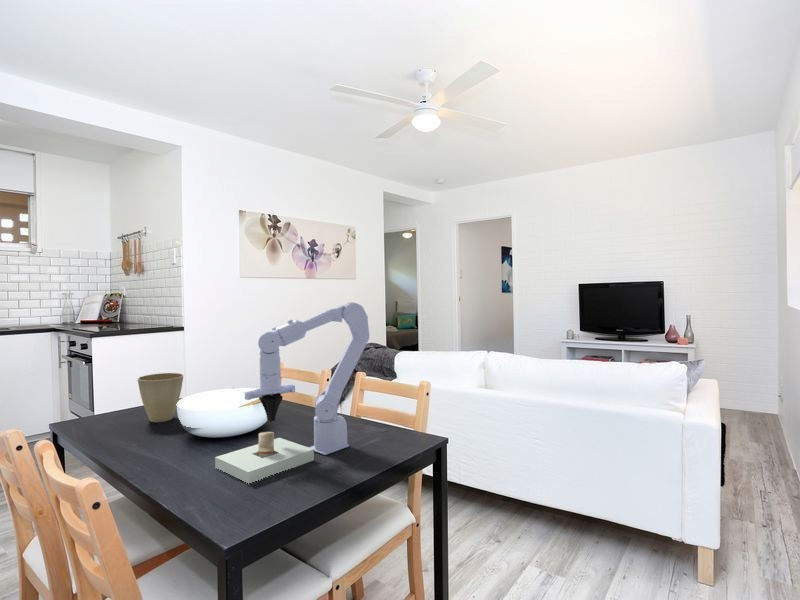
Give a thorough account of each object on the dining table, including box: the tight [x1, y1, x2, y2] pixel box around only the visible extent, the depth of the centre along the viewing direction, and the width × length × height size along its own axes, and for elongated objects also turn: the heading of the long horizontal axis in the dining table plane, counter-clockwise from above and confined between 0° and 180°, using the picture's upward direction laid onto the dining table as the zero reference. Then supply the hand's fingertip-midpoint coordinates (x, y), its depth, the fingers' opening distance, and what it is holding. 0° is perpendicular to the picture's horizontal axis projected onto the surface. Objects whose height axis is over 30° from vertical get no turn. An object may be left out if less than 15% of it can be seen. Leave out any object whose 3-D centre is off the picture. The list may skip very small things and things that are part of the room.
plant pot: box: [137, 372, 184, 423], centre depth 167 cm, size 15×15×16 cm
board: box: [214, 437, 315, 485], centre depth 122 cm, size 20×16×3 cm
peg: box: [258, 431, 275, 458], centre depth 123 cm, size 4×4×8 cm
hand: (271, 420), depth 130 cm, fingers closed
